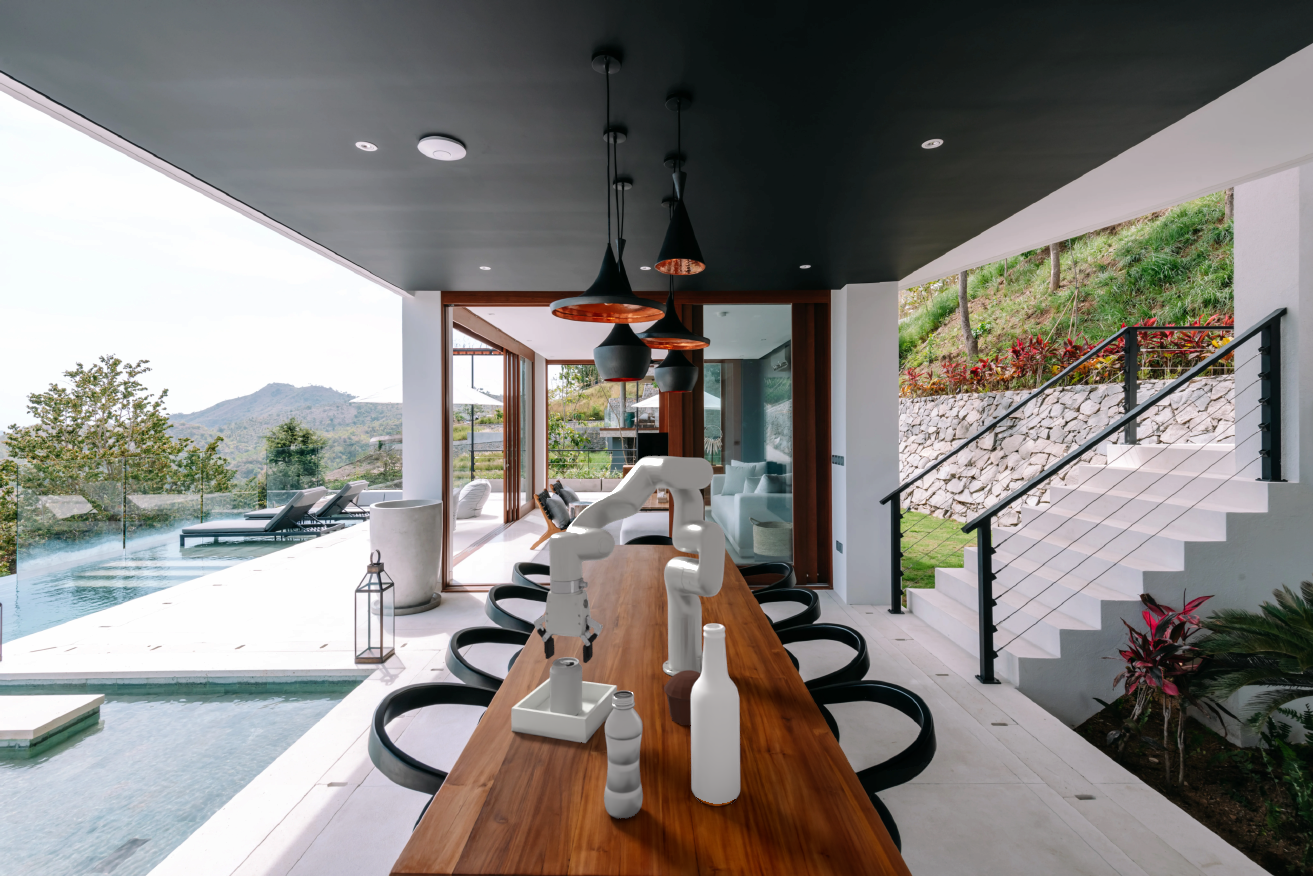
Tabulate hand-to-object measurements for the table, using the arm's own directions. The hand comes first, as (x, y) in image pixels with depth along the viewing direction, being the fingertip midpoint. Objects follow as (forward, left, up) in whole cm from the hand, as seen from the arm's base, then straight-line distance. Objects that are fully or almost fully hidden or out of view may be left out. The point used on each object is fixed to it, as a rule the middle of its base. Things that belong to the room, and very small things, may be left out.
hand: (568, 658), depth 132 cm
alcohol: (-39, +19, -14) cm, 45 cm away
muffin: (-27, -8, -14) cm, 31 cm away
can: (+1, 0, -13) cm, 13 cm away
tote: (0, +1, -14) cm, 14 cm away
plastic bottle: (-25, +29, -14) cm, 40 cm away
